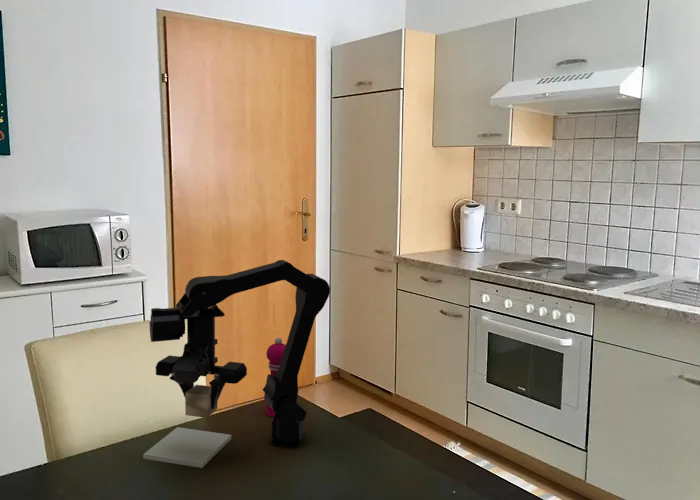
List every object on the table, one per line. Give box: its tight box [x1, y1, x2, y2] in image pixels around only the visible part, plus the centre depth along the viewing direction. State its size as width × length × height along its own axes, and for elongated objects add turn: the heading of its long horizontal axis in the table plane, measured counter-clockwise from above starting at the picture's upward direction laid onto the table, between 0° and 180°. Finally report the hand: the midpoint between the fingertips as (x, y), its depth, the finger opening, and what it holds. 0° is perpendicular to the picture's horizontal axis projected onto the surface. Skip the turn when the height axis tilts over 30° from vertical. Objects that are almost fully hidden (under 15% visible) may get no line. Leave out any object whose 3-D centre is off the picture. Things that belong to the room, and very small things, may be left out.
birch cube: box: [184, 384, 218, 419], centre depth 129 cm, size 5×5×5 cm
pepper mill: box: [263, 337, 286, 418], centre depth 153 cm, size 7×7×20 cm
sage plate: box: [142, 426, 232, 469], centre depth 134 cm, size 14×14×1 cm
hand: (201, 407), depth 129 cm, fingers closed on birch cube, 5 cm apart
